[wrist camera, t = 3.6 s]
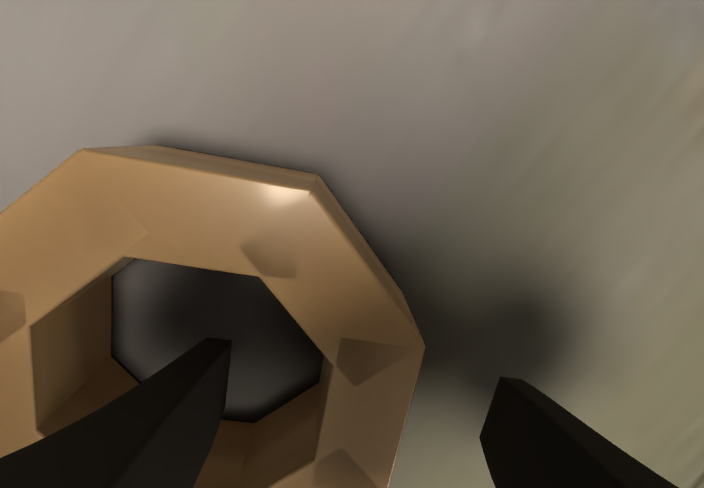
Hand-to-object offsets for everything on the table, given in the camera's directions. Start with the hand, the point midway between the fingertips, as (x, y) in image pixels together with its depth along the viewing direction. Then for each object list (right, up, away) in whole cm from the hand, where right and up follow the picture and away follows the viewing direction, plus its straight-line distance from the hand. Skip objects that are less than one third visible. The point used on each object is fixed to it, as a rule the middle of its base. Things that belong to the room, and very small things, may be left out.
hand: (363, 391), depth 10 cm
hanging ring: (-4, +1, +1) cm, 5 cm away
